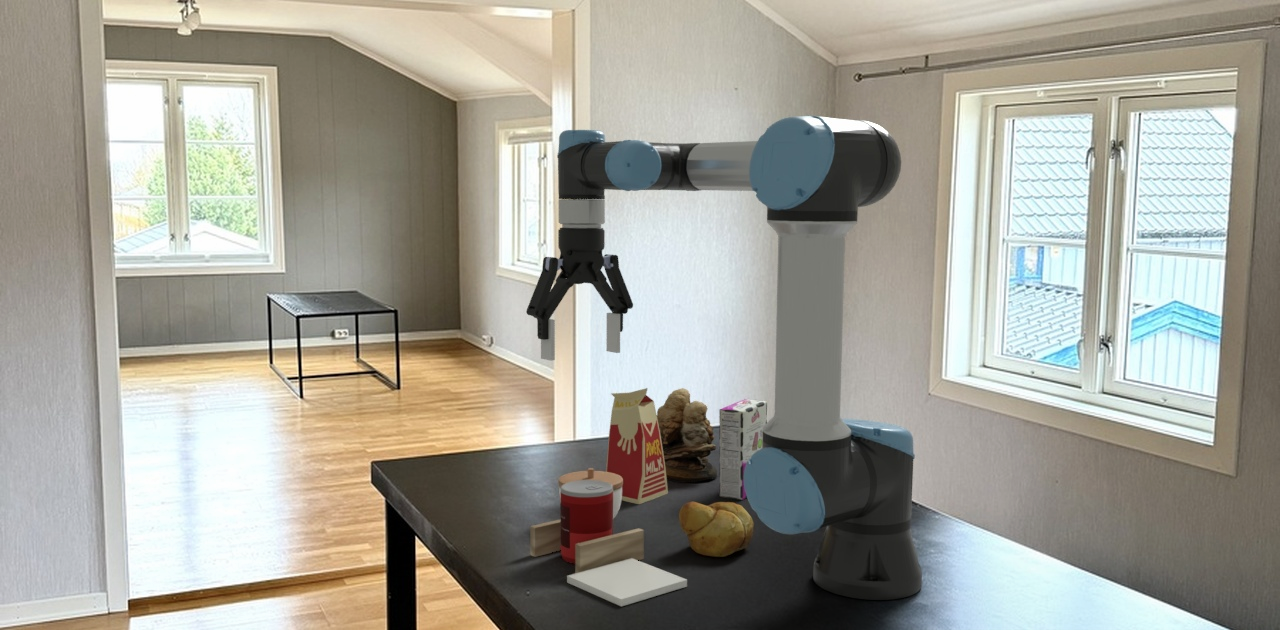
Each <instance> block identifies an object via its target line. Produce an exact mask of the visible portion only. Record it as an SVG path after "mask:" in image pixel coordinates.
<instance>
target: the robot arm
mask: <svg viewBox="0 0 1280 630" xmlns="http://www.w3.org/2000/svg"><path fill="white" fill-rule="evenodd" d="M898 146H899V145H898V144H897V142H896V139H895V138H894V137H893V136H892V135H891V134H890V133H889V131H888V130H886V129H885V128H884V127H883V126H881V125H879V124H876V123H874V122H871V121H869V120H864V119H848V118H847V119H846V118H836V117H828V116H827V117H826V116H818V115H808V114H807V115H805V116H803V115H802V116H789V117H788V116H787V117H784V118H782V119H779V120H778V121H776V122H774V123H772V124H771V125H769V126H768V128H766V130H765V132H764V133H763V134H762V135H760V136H759V138H758V139H757V140H748V141H747V140H745V141H724V142H722V141H721V142H717V141H716V142H702V143H701V142H691V143H690V142H689V143H676V142H675V143H673V142H672V143H671V142H670V143H669V142H667V143H666V142H665V143H664V142H663V143H662V142H650V141H645V140H638V139H635V140H632V139H626V140H620V141H618V140H617V141H606V137H605V133H604V132H603V131H602V130H597V129H567V130H563V131H562V132H560V134H559V137H558V152H557V175H558V176H557V178H558V182H557V183H558V187H557V191H558V223H559V224H560V225H562V227H559V229H558V231H557V232H558V233H557V234H558V236H557V238H558V240H557V241H558V242H557V243H558V249H559V252H560V255H559V257H558V258H557V257H553V256H545V257H544V258H543V259H542V268H541V269H542V270H541V273H540V275H539V279H538V280H537V284H536V285H535V287H534V288H535V289H534V291H533V293H532V296H531V298H530V301H529V303H528V305H527V309H526V315H528V316H531V317H533V318H535V319H536V320H537V327H536V328H537V335H536V336H537V338H538V339H539V340H540V359H541V360H546V361H555V360H556V359H555V358H556V357H555V355H556V353H555V352H556V349H555V348H556V346H555V345H556V344H555V342H556V341H555V339H556V338H555V334H556V333H555V329H556V328H555V327H556V326H555V325H556V324H555V321H556V319H551V317H552V316H553V314H554V313H555V311H556V310H557V308H558V306H559V305H560V304H561V302H562V301H563V298H565V296H566V294H567V293H568V291H569V289H570V288H572V287H573V286H574V285H582V284H591V285H592V286H593V287H594V289H595V290H596V292H597V293H598V294H599V296H600V297H601V299H602V300H603V302H604V303H605V304H606V305H607V307H608V309H609V310H610V311H611V312H606V350H605V351H606V352H609V353H616V354H619V353H621V333H622V332H623V331H624V326H623V325H624V314H628V310H629V309H631V310H632V309H633V307H634V303H633V300H632V298H631V295H630V292H629V290H628V288H627V285H626V283H625V280H624V279H625V278H624V277H623V275H622V272H621V269H620V262H619V256H618V255H616V254H609V253H608V254H606V253H605V254H604V255H603V250H604V249H605V245H606V244H605V237H606V236H605V229H604V228H603V227H602V225H604V224H605V222H606V216H605V215H606V209H605V208H606V205H605V203H606V201H605V199H606V197H605V196H606V195H605V191H606V190H612V191H626V192H630V191H635V192H637V191H687V192H698V191H734V192H735V191H738V192H739V191H740V192H742V191H743V192H747V191H748V192H749V191H750V192H755V193H756V194H755V197H756V198H757V200H758V201H759V202H761V204H763V205H765V206H766V209H767V210H766V211H767V212H766V223H767V224H768V225H769V226H770V228H772V230H774V231H775V233H776V234H777V237H778V238H777V239H778V240H777V243H778V244H777V280H776V281H777V282H776V284H777V286H776V288H777V289H776V324H775V325H776V326H775V327H776V328H775V330H776V331H775V333H776V335H775V337H776V338H775V372H774V373H775V375H774V376H775V377H774V379H775V381H774V414H773V417H771V419H769V420H767V423H766V424H765V425H764V426H763V440H762V449H760V450H757V451H756V452H755V453H754V454H753V455H752V457H751V459H749V460H748V461H747V463H746V466H745V470H744V487H745V492H746V496H747V501H748V503H749V505H750V508H751V509H752V511H754V512H755V513H756V515H757V518H759V520H760V521H761V522H762V523H763V524H764V525H765V526H767V527H768V528H769V529H770V530H772V531H774V532H777V533H780V534H783V535H797V534H801V533H804V534H806V533H813V532H816V531H818V530H819V529H822V528H825V531H824V534H823V537H822V540H821V542H820V545H819V547H818V551H817V555H816V557H815V559H814V561H813V562H814V563H813V575H812V576H813V581H814V583H815V584H816V585H817V586H818V587H820V588H821V589H822V590H825V591H827V592H830V593H832V594H835V595H839V596H843V597H848V598H853V599H857V600H858V599H859V600H873V601H885V600H887V601H888V600H897V599H898V600H899V599H903V598H907V597H911V596H913V595H915V594H917V593H919V591H920V590H921V588H922V583H923V582H922V581H923V580H922V579H923V570H922V567H921V565H920V562H919V558H918V555H917V549H916V547H915V542H914V539H913V535H912V530H911V529H912V527H911V526H912V505H913V503H912V502H913V483H914V482H913V481H914V480H913V478H914V477H913V475H914V459H915V458H916V457H915V456H916V455H915V453H914V436H913V434H912V433H911V432H910V431H909V429H907V428H905V427H902V426H900V425H896V424H892V423H886V422H880V421H873V420H866V419H856V418H855V419H853V418H841V395H842V394H841V392H842V391H841V389H842V360H843V359H842V357H843V356H842V355H843V354H842V353H843V323H844V320H843V319H844V318H843V317H844V315H843V314H844V287H845V286H844V283H845V251H846V250H845V249H846V247H845V245H846V244H845V243H846V236H847V234H848V233H849V232H850V231H852V229H853V228H855V226H856V225H857V224H858V211H859V208H861V207H868V206H871V205H873V204H876V203H878V202H880V201H881V200H883V199H884V198H885V197H886V196H887V195H889V194H890V193H891V191H892V190H893V188H894V187H895V186H896V184H897V182H898V180H899V177H900V173H901V171H902V170H901V167H902V156H901V155H902V154H901V152H900V148H899V147H898ZM602 269H604V271H605V274H606V276H605V274H604V272H603V271H602ZM559 270H560V273H559V274H558V271H559ZM557 275H558V276H557ZM607 280H608V281H609V282H607ZM554 282H555V283H554Z"/></svg>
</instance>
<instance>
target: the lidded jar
mask: <svg viewBox="0 0 1280 630" xmlns="http://www.w3.org/2000/svg"><path fill="white" fill-rule="evenodd" d="M579 480H597V481H604V482H607V483H610V484H611V485H612V486H613V520H614V519H615V518H616V516H617V515H618V513H619V511H620V508H621V505H622V486H623V478H622V477H621V476H620V475H617V474H615V473H611V472H606V471H604V470H603V471H602V470H595V469H594V468H593V467H589V468H587V470H580V471H573V472H568V473H565V474H563V475H561V476H559V478H558V479H557V481H558V482H557V483H558V485H557V486H558V495H559V496H558V497H559V499H560V498H561V486H562V485H564V484H566V483H568V482H572V481H579Z"/></svg>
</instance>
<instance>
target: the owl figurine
mask: <svg viewBox="0 0 1280 630" xmlns="http://www.w3.org/2000/svg"><path fill="white" fill-rule="evenodd" d="M707 411H708V406H707V404H705V403H703V402H701V401H698V400H693V401H691V394H690V392H689V390H688V389H686V388H684V387H682V388H677V389H674V390H673V391H672V392H671V393H670V394H668V395H667V398H666V399H665V403H664V404H663V405H661V406H659V407H658V409H657V411H656V415H657V419H658V424H659V429H660V435H661V441H662V448H663V454H664V461H665V468H666V478H667V481H671V482H672V481H673V482H678V483H693V482H694V483H699V482H702V481H706V480H707V481H708V480H716V479H717V477H718V470H717V468H715V467H714V466H713V465H712V463H711V462H709V459H708V458H707V457H709V456H710V454H711V453H712V452H713V451H715V450H717V445H716V444H714V443H713V441H714V439H715V436H714V432H713V430H714V427H713V426H712V425H711V421H710V419H708V418H707Z"/></svg>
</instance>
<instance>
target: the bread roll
mask: <svg viewBox="0 0 1280 630" xmlns="http://www.w3.org/2000/svg"><path fill="white" fill-rule="evenodd" d="M678 515H679V517H678V519H679V520H678V521H679V526H680V527H681V531H683V533H684V534H686V536H687V539H688V543H689V547H690V548H691V549H692V550H693V551H694V552H695V553H696V554H700V555H701V556H702V555H703V556H707V557H715V558H720V557H721V558H722V557H724V558H725V557H727V556H729V555H732V554H733V553H735V552H739V551H741V550H743V549H745V548H747V547H748V546H749V545H750V543H751V540H752V538H753V535H754V526H755V524H754V520H753V518H752V516H751V515H750V514H749V512H748V511H747V510H746V509H745V508H744V507H743V505H741V504H738V503H735V502H732V501H731V502H730V501H727V502H726V501H717V502H713V503H711V504H708V505H706V504H702V503H700V502H696V501H692V500H691V501H688V502H686V503H684V504H683V505H682V506H681V508H680V509H679V512H678Z"/></svg>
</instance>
